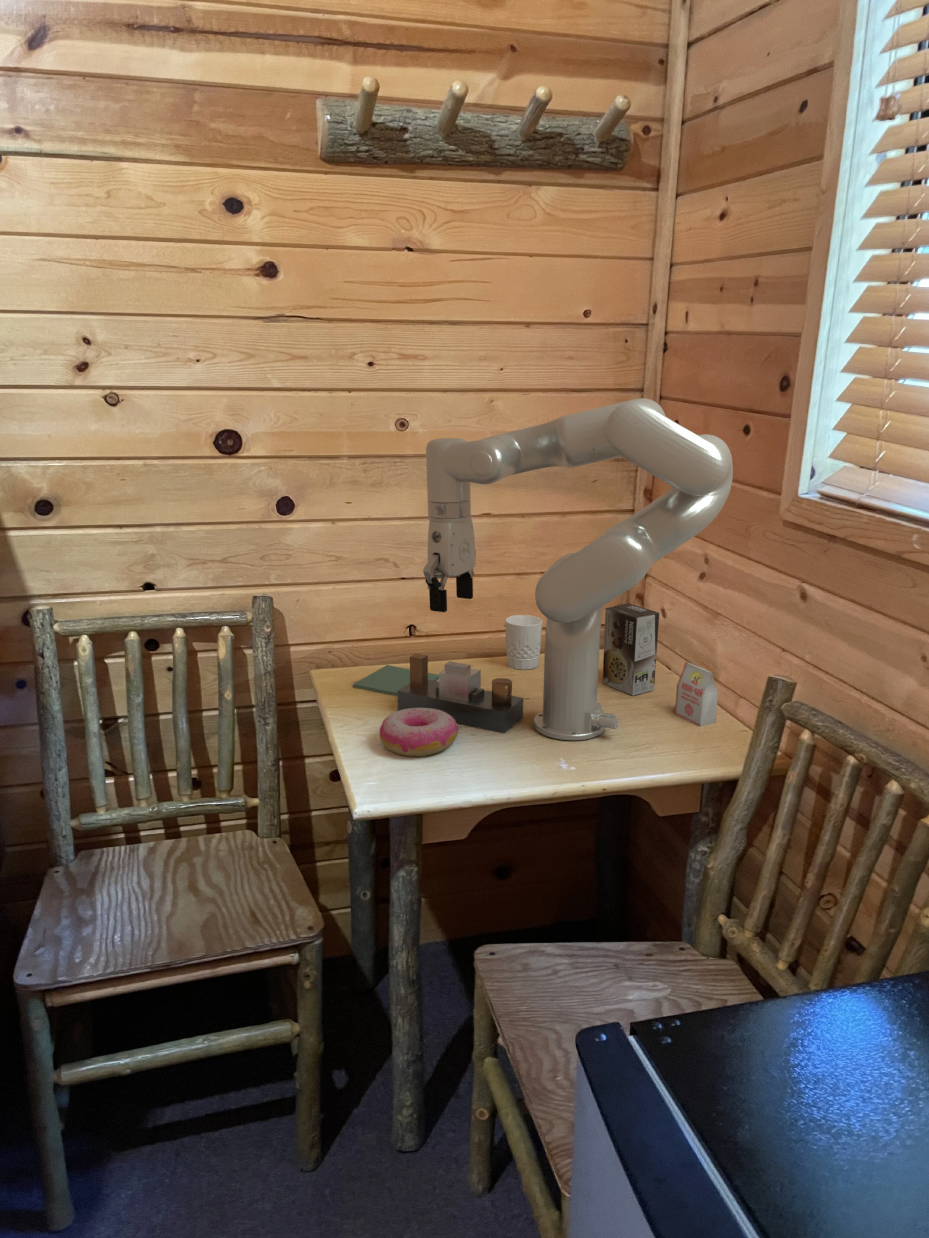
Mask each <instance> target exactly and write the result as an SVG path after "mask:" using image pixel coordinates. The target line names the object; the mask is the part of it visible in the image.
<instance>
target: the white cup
mask: <svg viewBox="0 0 929 1238" xmlns="http://www.w3.org/2000/svg"><path fill="white" fill-rule="evenodd" d="M543 621H544V620H543V619H542V618H541V617H538V616H535V615H528V614H527V615H526V614H518V615H517V614H516V615H511V616H508V617H506V618H505V625H504V626H505V648H506V649H505V650H506V665H507V666H508V667H509V668H512V669H513V670H514V669H515V670H520V671H524V670H525V671H526V670H533V669H535V668H538V667H539V662H540V660H539V659H540V655H541V646H542V634H543V623H544V622H543Z"/></svg>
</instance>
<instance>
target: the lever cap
mask: <svg viewBox="0 0 929 1238" xmlns="http://www.w3.org/2000/svg"><path fill="white" fill-rule="evenodd" d="M481 671H482V670H481V669H479V668H473V667H471V664H468V663H467V664H466V663H461V662H456V661H455V662H454V661H451V660H450V661H447V662H446V663H444V669H442V670H441V671H439V672H438V675H439V679H438V681H439V696H443V697H448V698H453V699H458V700H463V701H470V700H471V699H472V694H473V693H475V692H476V691H478V690H479V689H480V688H481V687H482V686H481V680H482V678H481V677H482V675H481V674H482V672H481Z"/></svg>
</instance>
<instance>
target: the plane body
mask: <svg viewBox="0 0 929 1238" xmlns="http://www.w3.org/2000/svg"><path fill="white" fill-rule="evenodd" d="M428 659H429V656H428V655H427V654H421V653H413V654H412V655H409V669H410V684H408V685H406V686H405V687H403V688H401V689H400V690H398V691H397V693H398V696H397V711H399V710H403V709H409V708H431V709H437V710H441V711H444V712H446V713H447V714H449V715H450V716H452V717H453V718H454V719H455V721H456V723H457V725H464V726H466V727H467V726H468V727H472V728H476V729H482V730H487V731H490V732H491V731H492V732H496V733H501V734H505V733H507V732H508V731H509V730H510V729H512V728H513V727H514V726H516V724H518V723H519V722H520V721H521V720H522V719H523V718H524V696H522V697H521V696H516V695H513V680H511V679H510V678H505V677H498V678H493V679H492V680H491V690H490V691H489V690H485V688H480V689H479V690H478V691H476V692H475V693H473V694H472V699H471V700H470V701H463V700H458V699H453V698H448V697H443V696H439V680H437V681H434V680H428V673H429V666H428V665H429V660H428Z"/></svg>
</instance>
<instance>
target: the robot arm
mask: <svg viewBox="0 0 929 1238" xmlns="http://www.w3.org/2000/svg"><path fill="white" fill-rule="evenodd" d="M622 457H623V458H625V459H626V460H627V461H629V462H630V463H632V464H633V465H635V466H637V467H639V468H640V469H642V470H643V471H645V472H646V473H648V474H650V475H652V476H654V477H656V478H657V479H659V480H660V481H662V482H663V483H665V484H667V485H668V486H671V488H670V489H668V491H666V492H665V493H663V494H662V495H660V496H659V497H657V498H656V499H654V500H653V501H652V502H651V503H649V504H648V505H646V506H645V507H643V508H642V509H640V510H639V511H637V512H635V513H634V514H632V515H631V516H629V517H627V518H626V519H623V520H622V521H620V522H618V523H616V524H614V525H611V526H610V527H609V528H607V529H606V530H605V531H604V532H603V533H602V534H601V535H600V536H599V537H597V538H596V539H595V540H593V541H591V542H590V543H589V544H587V545H585V546H584V547H582V548H581V549H579V550H578V551H576V552H571V553H567V554H565V555H563V556H560V558H558V559H557V560H555V562H553V564H551V565H550V566H549V568H547V570H545V571H544V573H543V574H542V575H541V576H540V577H539V578H538V581H537V584H536V586H535V592H534V599H535V604H536V606H537V608H538V610H539V611H540V613H541V614H542V615H543V616H544V617H545V618H546V621H545V633H544V634H545V635H544V636H545V637H544V638H545V640H544V659H543V660H544V662H543V664H544V665H543V692H542V693H543V695H542V711H540V712H539V713H537V714H536V715H535V716H534V717H533V727H534V729H535V730H536V732H538V733H539V734H542V735H544V736H546V737H549V738H551V739H552V738H553V739H556V740H562V741H583V740H590V739H592V738H596V737H598V736H600V735H601V734H602V733H603V732H604V730H605V728H606V729H609V730H618V727H619V718H617V715H616V713H611V712H604V710H602V705H603V704H602V703H601V702H597V700H598V683H599V682H598V679H599V666H600V665H599V663H600V646H601V632H602V620H603V619H602V616H603V610H604V606H605V605H606V604H608V603H610V602H612V601H613V600H614V599H615V600H616V598H618V597H619V596H621V595H623V594H624V593H626V592H628V591H629V590H631V589H632V588H634V587H635V586H636V585H637V584H638V583H640V582H641V581H642V580H643V579H644V577H646V575H647V574H648V572H649V571H650V569H651V568H652V566H653V565H654V564H655V563H656V562H659V560H661V559H663V558H664V557H665V556H667V555H669V554H671V553H672V552H673V551H675V550H676V549H678V548H679V547H681V546H682V545H684V544H685V543H687V542H688V541H690V540H691V539H693V538H694V537H696V536H697V535H699V534H700V533H701V532H702V531H704V530H705V529H706V528H707V527H708V526H710V524H711V523H713V521H714V520H715V519H716V518H717V517H718V516H719V514H720V512H721V511H722V509H723V508H724V506H725V504H726V503H727V501H728V498H729V496H730V492H731V488H732V485H733V477H734V476H733V475H734V472H733V471H734V466H733V456H732V453H731V450H730V448H729V446H728V445H727V443H726V442H725V441H724V440H723V439H722V438H720V437H718V436H716V435H713V434H707V433H706V434H704V433H703V434H696V433H695V432H693V431H691V430H689V429H687V428H686V427H684V426H683V425H681V424H679V423H677V422H675V421H674V420H673V419H670V418H669V417H667V416H666V414H665V411H664V410H663V407H662V406H661V405H660V404H659V403H657V402H656V401H654V400H653V399H650V398H643V397H642V398H634V399H629V400H625V401H622V402H621V401H620V402H616V403H612V404H608V405H605V406H601V407H597V408H592V409H588V410H584V411H583V410H582V411H580V412H575V413H571V414H567V415H564V416H560V417H557V418H555V419H553V420H551V421H548V422H545V423H541V424H538V425H533V426H529V427H524V428H521V429H517V430H512V431H508V432H503V433H499V434H496V435H491V436H488V437H484V438H481V439H478V440H469V441H467V440H465V439H463V438H458V437H456V438H455V437H443V438H435V439H430V440H429V441H428V442H427V444H426V448H425V458H426V459H425V463H426V487H427V488H426V492H427V494H426V495H427V518H428V520H429V521H428V531H427V532H428V533H427V563H426V564H425V566H424V567H423V570H422V571H423V572H422V573H423V574H424V578H425V580H424V581H425V583H426V585H427V590H429V593H428V594H429V610H430V611H432V612H439V613H446V612H447V611H448V599H447V597H448V596H447V595H448V594H447V592H448V591H447V589H445V587H446V584H447V580H448V578H451V579H453V578H455V585H456V586H455V589H456V597H457V598H458V599H467V600H471V599H473V597H474V583H473V582H474V580H473V579H474V578H473V577H474V575H475V571H474V568H475V567H476V566H477V560H476V559H477V558H476V557H477V550H476V539H475V530H474V525H473V524H474V523H473V518H472V512H471V511H472V509H471V508H472V504H471V502H472V501H471V484H472V483H473V484H476V485H477V484H478V485H492V484H495V483H497V482H499V481H501V480H503V479H505V478H508V477H510V476H514V475H518V474H523V473H526V472H531V471H535V470H541V469H546V468H551V467H553V468H554V467H562V468H568V469H569V468H577V467H578V468H579V467H582V466H586V465H590V464H594V463H599V462H603V461H609V460H612V459H618V458H622ZM439 579H440V580H439Z"/></svg>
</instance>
